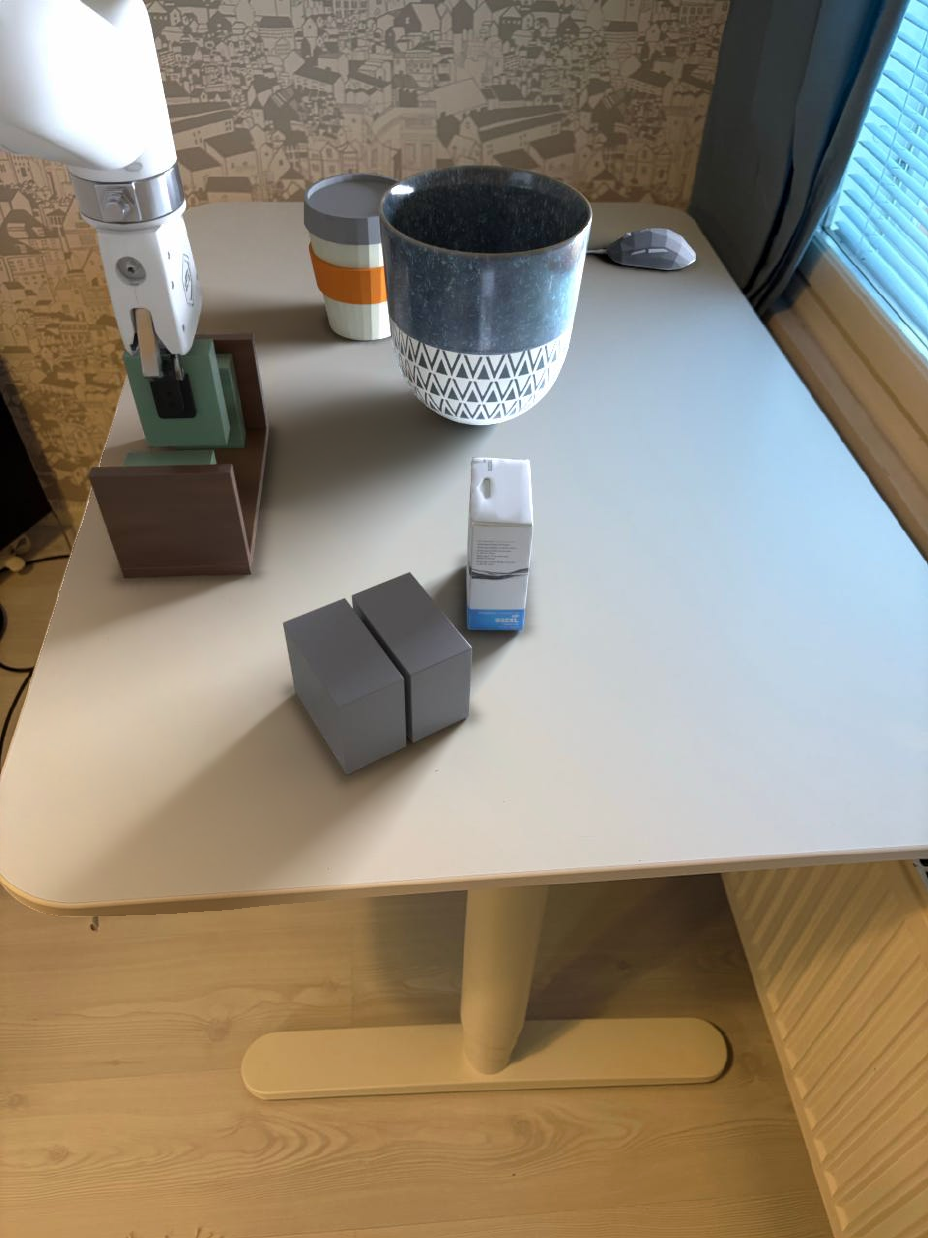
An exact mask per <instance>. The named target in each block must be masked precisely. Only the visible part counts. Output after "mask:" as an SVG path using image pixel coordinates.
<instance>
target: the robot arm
mask: <svg viewBox="0 0 928 1238" xmlns="http://www.w3.org/2000/svg"><path fill="white" fill-rule="evenodd" d="M154 40H155V39H154V35H153V30H152V25H151V21H150V17H149V13H148V10H147V7H146V5H145V3H144V1H143V0H0V152H3V153H7V154H12V155H17V156H21V157H22V156H23V157H31V158H35V159H39V160H44V161H50V162H53V163H54V162H55V163H59V164H64V165H66V167H67V171H68V175H69V179H70V181H71V185H72V189H73V192H74V195H75V200H76V203H77V206H78V211H79V215H80V217H81V220H83V221H84V222H85V223H87V224H88V225H90V226H92V227H94V228H95V233H96V237H97V243H98V248H99V252H100V259H101V263H102V267H103V272H104V278H105V281H106V285H107V290H108V294H109V299H110V302H111V306H112V310H113V314H114V317H115V321H116V326H117V328H118V331H119V332H118V333H119V336H120V338H121V341H122V344H123V347H124V350H125V349H126V350H127V351H128V352H129V353H130V354H131V355H133V356H136V355H137V353H138V351H139V349H140V356H141V364H142V371H143V376H144V378H145V379H148V381H149V383H150V387H151V390H152V394H153V398H154V402H155V406H156V409H157V413H158V416H159V417H160V418H162V419H177V418H195V417H196V414H197V409H196V405H195V401H194V396H193V392H192V387H191V383H190V379H189V374H184V370H183V365H182V360H181V356H180V355H185V354H186V353H188V351H189V350H190V349H191V347H192V344H193V341H194V337H195V334H197V329H198V326H199V325H198V324H199V321H200V316H201V312H202V307H203V294H202V288H201V285H200V280H199V276H198V272H197V267H196V264H195V259H194V255H193V251H192V248H191V244H190V240H189V239H190V238H189V236H188V231H187V227H186V224H185V221H184V217H183V214H184V212H185V211H186V208H187V201H186V196H185V192H184V187H183V182H182V177H181V173H180V172H181V171H180V166H179V162H178V157H177V153H176V148H175V141H174V137H173V132H172V131H173V130H172V126H171V122H170V116H169V110H168V105H167V100H166V95H165V92H164V86H163V81H162V76H161V75H162V74H161V71H160V65H159V60H158V55H157V50H156V45H155V41H154ZM158 340H161V341H158ZM160 354H170V356H171V361H172V363H171V362H170V361H169V360H161V357H160Z"/></svg>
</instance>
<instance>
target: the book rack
mask: <svg viewBox="0 0 928 1238" xmlns="http://www.w3.org/2000/svg"><path fill="white" fill-rule="evenodd" d="M194 339H212V340H213V344H214V349H215V354H216V359H217V364H218V369H219V374H220V379H221V385H222V390H223V395H224V400H225V405H226V410H227V415H228V420H229V425H230V431H229V437H228V443H227V445H200V446H159V447H151V450H139V451H135V450H134V451H127V452H126V457H125V459H124V462H123V466H92V467H90V470H89V473H88V476H87V477H88V479H89V483H90V485H91V488H92V491H93V494H94V497H95V499H96V502H97V505H98V509H99V511H100V515H101V517H102V519H103V523H104V526H105V529H106V531H107V535H108V537H109V540H110V543H111V546H112V549H113V551H114V554H115V557H116V560H117V563H118V566H119V568H120V572H121V574H122V578H123V579H143V578H145V579H148V578H152V579H153V578H180V577H207V576H208V577H210V576H211V577H212V576H237V575H238V576H241V575H252V570H253V565H254V564H253V563H254V555H255V547H256V539H257V531H258V523H259V515H260V506H261V499H262V490H263V483H264V475H265V465H266V459H267V450H268V442H269V433H270V428H269V422H268V417H267V409H266V404H265V403H266V402H265V397H264V392H263V391H264V390H263V384H262V378H261V371H260V365H259V360H258V359H259V358H258V353H257V347H256V346H257V345H256V339H255V334H254V332H246V333H245V332H239V333H237V332H236V333H235V332H234V333H195V337H194Z"/></svg>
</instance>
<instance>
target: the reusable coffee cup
mask: <svg viewBox="0 0 928 1238" xmlns="http://www.w3.org/2000/svg"><path fill="white" fill-rule="evenodd" d="M400 180H401V179H398V178H394V177H393V176H388V175H385V174H384V175H383V174H378V173H368V172H367V173H366V172H351V173H350V172H349V173H341V174H336V175H330V176H328V177H324V178H321V179H319V180H316V181H314V183H311V184H310V185H309V186H308V187H307V188H306V189H305V190H304V193H303V225H304V227H305V229H306V230H307V232H308V235H309V240H310V241H309V243H308V252H309V257H310V262H311V265H312V269H313V273H314V277H315V282H316V283H315V284H316V286H317V288H318V290H319V291H320V293H321V294H322V297H323V301H324V306H325V311H326V315H327V319H328V323H329V327H330V328H331V330H332V331H333V332H334V333H335V334H337V335H339V336H341V337H343V338H346V339H349V340H354V341H355V340H356V341H377V340H381V339H385V338H388V337H391V335H390V327H389V317H388V308H387V299H386V289H385V278H384V266H383V257H382V248H381V239H380V227H379V212H378V205H379V201H380V199H381V197H382V195H383V194H384V192H385V191H386V190H387V189H388V188H389V187H391V186H392V185H393V184H395V183H396V182H398V181H400Z"/></svg>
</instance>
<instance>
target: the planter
mask: <svg viewBox="0 0 928 1238" xmlns="http://www.w3.org/2000/svg"><path fill="white" fill-rule="evenodd" d="M399 180H400V181H398V182H396V183H395V184H393V185H392V186H391V187H389V188H388V189H387V190H386V191H385V192H384V194H383V195H382V197H381V199H380V201H379V205H378V212H379V227H380V239H381V248H382V257H383V266H384V278H385V289H386V299H387V308H388V317H389V327H390V341H391V346H392V350H393V354H394V357H395V361H396V364H397V366H398V369H399V372H400V374H401V376H402V378H403V380H404V382H405V384H406V385H407V387H408V388H409V389H410V391H411V392H412V394H413V395H414V396H415V397H416V398H417V399H418V400H419V401H420V402H421V403H422V404H423V405H425V406H426V407H427V408H429V410H431V411H433V412H434V413H436V414H437V415H439V416H441V417H442V418H445V419H448V420H450V421H453V422H456V423H459V424H463V425H464V424H465V425H469V426H488V425H496V424H500V423H503V422H507V421H509V420H512V419H514V418H517V417H519V416H521V415H522V414H524V413H526V412H527V411H528V410H530V409H531V408H532V407H534V406H536V405H537V404H538V403H539V402H540V401H541V400H542V399H543V398H544V397H545V396H546V395H547V393H548V392H549V390H550V389H551V388H552V386H553V385H554V383H555V382H556V380H557V377H558V375H559V374H560V371H561V369H562V367H563V364H564V362H565V358H566V356H567V353H568V349H569V345H570V342H571V338H572V337H571V336H572V331H573V327H574V325H573V324H574V321H575V316H576V310H577V306H578V301H579V295H580V294H579V293H580V290H581V289H580V287H581V284H582V283H581V282H582V277H583V272H584V268H585V267H584V265H585V260H586V256H587V253H586V251H587V250H588V245H589V239H590V233H591V227H592V220H593V211H592V210H593V209H592V207H591V204H590V202H589V200H588V199H587V198H586V197H585V196H584V195H583V194H582V193H581V192H580V191H579V190H578V189H576V188H575V187H573V186H571V185H570V184H568V183H566V182H564V181H562V180H560V179H557V178H555V177H552V176H549V175H547V174H543V173H540V172H537V171H533V170H528V169H523V168H518V167H511V166H504V165H493V164H492V165H489V164H464V165H452V166H444V167H437V168H431V169H428V170H424V171H421V172H417V173H414V174H411V175H408V176H406V177H404V178H402V179H399Z"/></svg>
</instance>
